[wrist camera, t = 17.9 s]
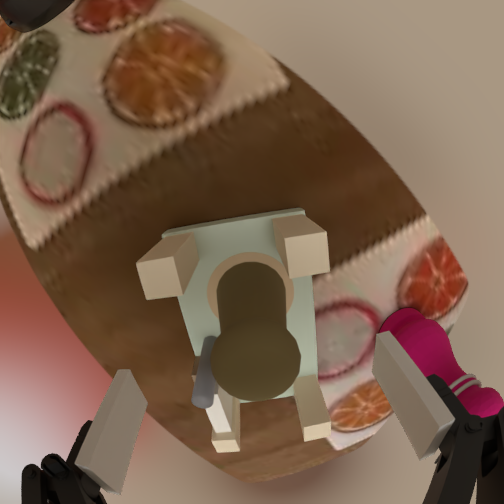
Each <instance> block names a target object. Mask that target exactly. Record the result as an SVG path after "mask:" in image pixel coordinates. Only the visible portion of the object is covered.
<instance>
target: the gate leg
mask: <svg viewBox="0 0 504 504" xmlns="http://www.w3.org/2000/svg"><path fill="white" fill-rule="evenodd" d="M205 409H206V412H207V414H208V416H209V419H210V421H211V423H212V425H213V429H212V440H211V441H212V443H213V445H214V447H215V449H216V451H217V452H235V451H240V401H239V399H238V398H236V397H233V396H231V395H229V394H228V393H227V392H226V391H224V390H223V389H222V388H221V387H220V386H219V385H218V383H217V382H215V392H214V401H213V405H212V406H211V407H209V408H205Z"/></svg>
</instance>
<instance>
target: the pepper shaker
mask: <svg viewBox="0 0 504 504" xmlns="http://www.w3.org/2000/svg"><path fill="white" fill-rule="evenodd" d="M216 292H217V305H218V314H219V323H220V332H221V334H220V335H219V336H218V337H217V339H216V340H215V342H214V345H213V348H212V351H211V356H210V363H211V370H212V374H213V376H214V378H215V380H216V382H217V383H218V385H219V386H220V387H221V388H222V389H223V390H224V391H226V392H227V393H228V394H229V395H231V396H233V397H236V398H238V399H241V400H246V401H265V400H269V399H272V398H275V397H277V396H279V395H281V394H283V393H284V392H285V391H286V390H288V389H289V388H290V387H291V386H292V384H293V383H294V381H295V380H296V378H297V376H298V374H299V372H300V363H301V354H300V350H299V347H298V344H297V341H296V339H295V338H294V337H293V335H292V334H291V333H290V332H289V331H288V330H287V319H286V288H285V285H284V282H283V279H282V278H281V276H280V275H279V274H278V272H277V271H276V270H274V269H273V268H271V267H270V266H268V265H266V264H263V263H259V262H243V263H240V264H237V265H234V266H233V267H231V268H230V269H229V270H227V271H226V272H225V273H224V274H223V276H222V277H221V279H220V280H219V283H218V286H217V290H216Z"/></svg>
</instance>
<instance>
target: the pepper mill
mask: <svg viewBox="0 0 504 504" xmlns="http://www.w3.org/2000/svg"><path fill="white" fill-rule="evenodd" d="M386 331H390V332H391V334H392V335H393V336H394V337H395V339H396V340H397V341H398V342H399V344H400V345H401V346H402V347H403V349H404V350H405V351H406V353H407V354H408V355H409V356H410V358H411V359H412V360H413V362H414V363H415V364H416V366H417V367H418V368H419V369H420V371H421V372H422V373H423V375H424V376H425V377H427V376H430V375H432V374H436V375H437V376H439V377H441V378H442V379H443V380H444V381H445V382H446V384H447V385H448V387H450V389H451V390H452V392H453V393H454V394H455V395H456V397H457V398H458V399H459V400H460V402H461V403H462V404H463V406H464V407H465V408H466V410H467V411H468V412H469V413H470V414H471V415H473V414H475V415H478V416H480V417H481V418H484V417H488V416H491V415H495V414H498V412H499V411H500V409H501V408H502V407H503V406H504V402H503V399H502V397H501V396H500V394H499V393H498V392H497V391H496V390H495V389H493V388H489V387H485V388H481V382H480V381H479V380H477V379H476V376H475V375H473V374H466V373H465V372H464V371H463V370H462V369H461V368H460V366H459V365H458V364H457V362H456V359H455V357H454V355H453V352H452V348H451V345H450V341H449V338H448V336H447V334H446V332H445V331H444V329H443V328H442V327H441V326H440V325H439V324H438V323H437V322H436V321H434V320H431V319H426V318H425V317H424V316H423V315H422V314H421V313H420V312H419V311H417V310H416V309H413V308H404V309H400V310H398V311H397V312H395V313H393V314H392V315H391V316H390V317H389V318H388V319H387V320H386V321H385V322H384V324H383V325H382V327H381V329H380V332H379V333H382V332H386Z"/></svg>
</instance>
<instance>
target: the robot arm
mask: <svg viewBox="0 0 504 504" xmlns="http://www.w3.org/2000/svg"><path fill="white" fill-rule="evenodd" d="M72 1H74V0H0V15H1V17H2V18H3V19H4V21H5V22H6V24H7V25H8V26H9V27H11V28H13V29H15V30H17V31H19V32H27V31H31V30H33V29H35V28H37V27H39V26H41V25H43V24H45V23H46V22H48V21H49V20H51V19H52V18H53V17H55V16H56V15H57V14H59V13H60V12H61V11H62V10H63V9H65V8H66V7H67V6H68V5H69V4H70V3H71V2H72ZM372 373H373V375H374V376H375V378H376V380H377V382H378V383H379V385H380V387H381V389H382V390H383V392H384V394H385V396H386V398H387V399H388V401H389V403H390V405H391V407H392V409H393V410H394V412H395V414H396V416H397V418H398V420H399V421H400V423H401V425H402V427H403V429H404V431H405V432H406V435H407V437H408V438H409V440H410V442H411V444H412V446H413V448H414V450H415V452H416V454H417V456H418V458H419V460H420V461H421V460H423V459H425V458H427V457H429V456H431V455H433V454H434V453H435V452H436V450H437V449H438V447H439V449H440V451H441V454H440V455H439V457H438V458H437V459H436V461H435V464H436V463H437V462H438V463H437V466H436V469H435V472H434V475H433V478H432V481H431V484H430V486H429V489H428V492H427V494H426V497H425V499H424V501H423V504H470V500H471V497H472V494H473V490H474V486H475V482H476V478H477V495H476V504H504V406H503V407H502V408H501V409H500V411H499V412H498V414H495V415H491V416H488V417H484V418H481V417H480V416H478V415H475V414H473V415H471V414H470V413H469V412H468V411H467V410H466V408H465V407H464V406H463V404H462V403H461V402H460V400H459V399H458V398H457V397H456V395H455V394H454V393H453V392H452V390H451V389H450V387H448V385H447V384H446V382H445V381H444V380H443V379H442V378H441V377H439V376H437V375H436V374H432V375H430V376H427V377H425V376H424V375H423V373H422V372H421V371H420V369H419V368H418V367H417V366H416V364H415V363H414V362H413V360H412V359H411V358H410V356H409V355H408V354H407V353H406V351H405V350H404V349H403V347H402V346H401V345H400V344H399V342H398V341H397V340H396V339H395V337H394V336H393V335H392V334H391V332H390V331H386V332H382V333H379V334H376V344H375V353H374V361H373V369H372ZM147 404H148V403H147V401H146V399H145V397H144V396H143V394H142V392H141V390H140V388H139V386H138V385H137V383H136V381H135V379H134V377H133V375H132V373H131V371H130V370H118V371H117V373H116V375H115V377H114V379H113V381H112V383H111V385H110V387H109V389H108V391H107V393H106V395H105V397H104V399H103V401H102V403H101V405H100V407H99V409H98V411H97V414H96V416H95V418H94V420H93V421H90V420H88V421H87V422H86V423H85V424H84V425H83V426H82V428H81V430H80V432H79V436H77V438H76V442H75V443H74V445H73V447H72V449H71V451H70V453H69V456H68V458H67V460H66V462H65V461H64V460H63V459H62V458H61V457H60V456H59V455H58V454H53V453H52V454H48V455H47V456H45V457H44V458H43V460H42V462H41V468H42V469H43V470H41V469H40V468H39V467H38V466H36V465H35V464H29V465H27V466H26V467H25V468H24V469H23V471H22V486H21V488H22V489H21V490H22V491H21V492H22V495H21V496H22V504H107V503H106V501H105V499H104V497H103V495H102V494H101V492H100V488H103V489H104V490H105V491H106V492H109V493H113V494H118V495H121V492H122V487H123V484H124V480H125V477H126V473H127V470H128V466H129V462H130V459H131V455H132V452H133V449H134V445H135V442H136V439H137V436H138V432H139V429H140V426H141V423H142V420H143V416H144V413H145V410H146V407H147Z"/></svg>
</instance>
